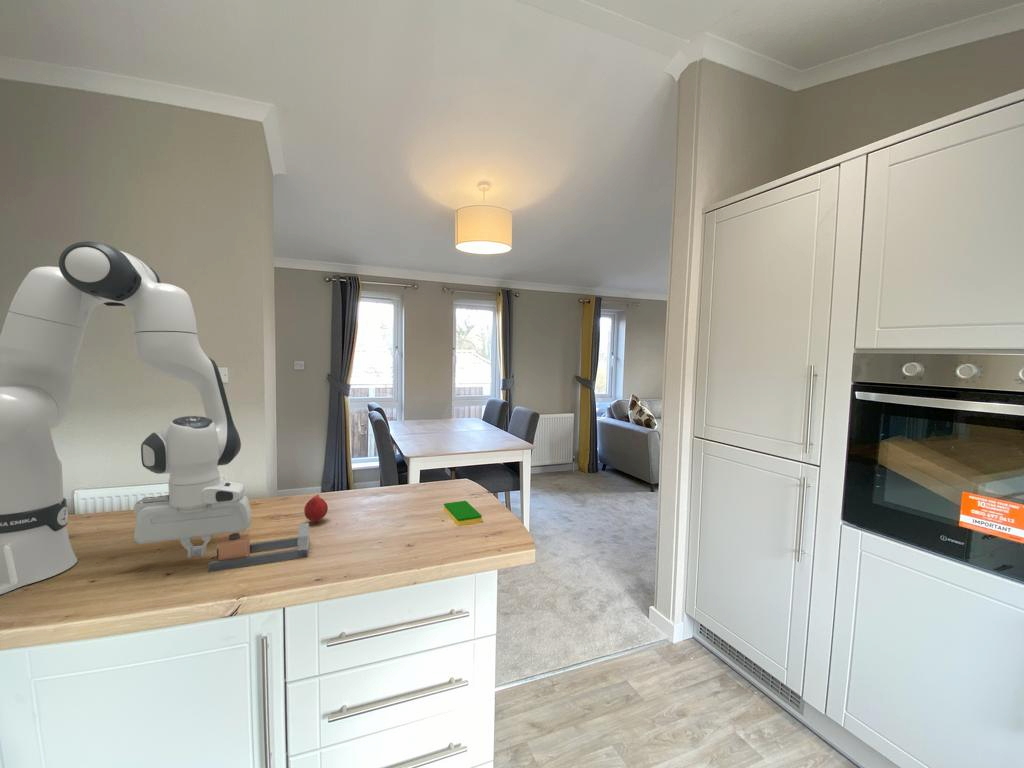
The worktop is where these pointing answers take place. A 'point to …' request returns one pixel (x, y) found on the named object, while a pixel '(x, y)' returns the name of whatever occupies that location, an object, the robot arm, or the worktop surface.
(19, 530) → the robot arm
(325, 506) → the onion
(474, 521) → the dish sponge
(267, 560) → the rail
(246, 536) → the block
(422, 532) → the worktop surface
